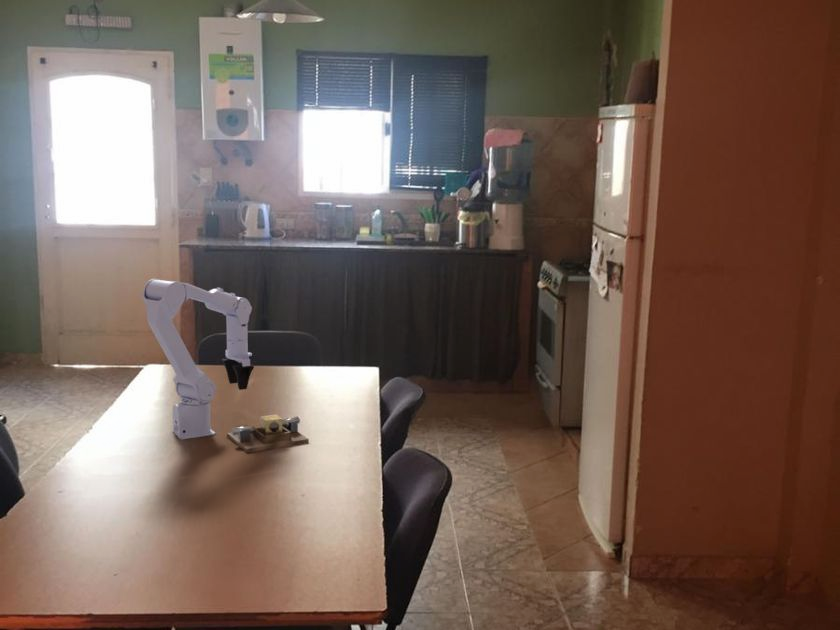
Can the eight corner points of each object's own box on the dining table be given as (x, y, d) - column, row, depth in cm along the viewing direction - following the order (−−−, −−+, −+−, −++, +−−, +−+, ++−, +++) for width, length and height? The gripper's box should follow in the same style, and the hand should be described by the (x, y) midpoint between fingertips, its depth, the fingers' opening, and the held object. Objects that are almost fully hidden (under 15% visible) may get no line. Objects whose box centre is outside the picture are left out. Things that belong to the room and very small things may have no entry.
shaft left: (233, 443, 224) (233, 429, 223) (231, 439, 227) (231, 425, 227) (255, 441, 226) (255, 428, 225) (253, 437, 229) (253, 424, 229)
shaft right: (292, 428, 238) (292, 415, 237) (302, 430, 236) (301, 417, 235) (279, 432, 234) (279, 419, 233) (289, 434, 232) (289, 421, 231)
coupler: (283, 439, 228) (282, 419, 227) (266, 441, 226) (266, 421, 225) (276, 433, 232) (275, 413, 231) (259, 436, 230) (259, 415, 229)
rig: (246, 452, 220) (246, 441, 219) (226, 436, 232) (226, 425, 232) (308, 442, 229) (308, 431, 228) (286, 427, 241) (286, 417, 241)
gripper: (260, 342, 239) (260, 390, 242) (241, 333, 252) (242, 378, 254) (235, 344, 236) (236, 393, 238) (218, 335, 248) (219, 381, 250)
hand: (238, 386), depth 246 cm, fingers open, 7 cm apart
